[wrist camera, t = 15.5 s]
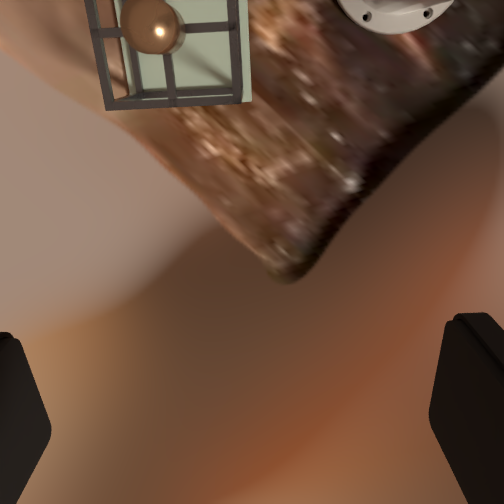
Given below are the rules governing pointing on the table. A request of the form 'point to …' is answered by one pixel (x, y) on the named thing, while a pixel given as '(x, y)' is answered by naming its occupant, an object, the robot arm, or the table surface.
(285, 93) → the table surface
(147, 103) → the dark grey metal frame
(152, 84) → the mat
